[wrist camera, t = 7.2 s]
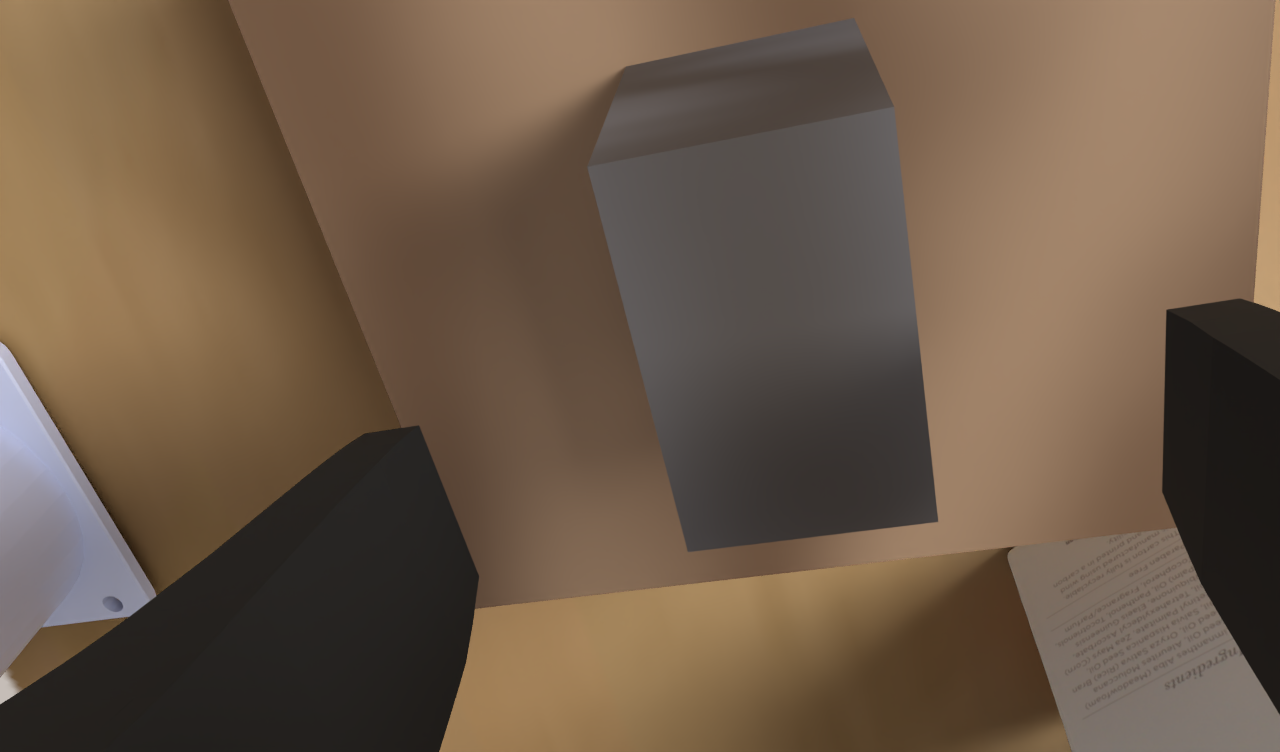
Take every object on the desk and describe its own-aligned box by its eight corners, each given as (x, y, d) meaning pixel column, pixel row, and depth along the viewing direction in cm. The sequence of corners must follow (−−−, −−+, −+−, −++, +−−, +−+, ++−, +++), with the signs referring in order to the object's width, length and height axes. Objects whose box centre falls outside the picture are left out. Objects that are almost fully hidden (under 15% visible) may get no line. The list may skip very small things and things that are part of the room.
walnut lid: (486, 572, 20) (415, 795, 15) (194, -177, 13) (-60, -151, 9) (1212, 483, 17) (1368, 718, 13) (1267, -478, 11) (1599, -632, 7)
